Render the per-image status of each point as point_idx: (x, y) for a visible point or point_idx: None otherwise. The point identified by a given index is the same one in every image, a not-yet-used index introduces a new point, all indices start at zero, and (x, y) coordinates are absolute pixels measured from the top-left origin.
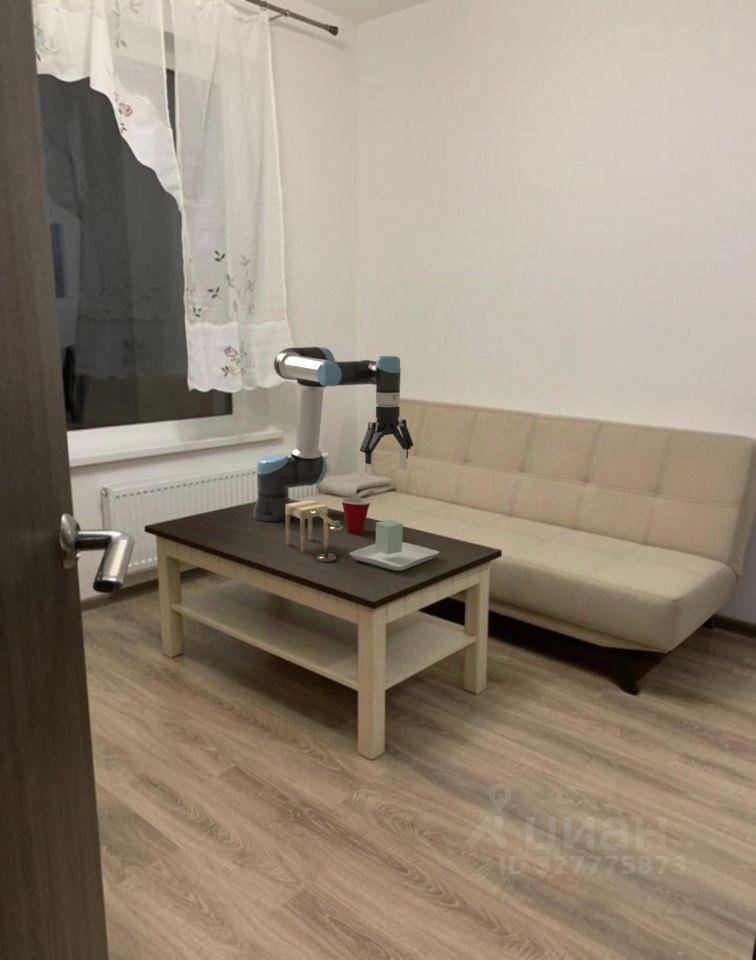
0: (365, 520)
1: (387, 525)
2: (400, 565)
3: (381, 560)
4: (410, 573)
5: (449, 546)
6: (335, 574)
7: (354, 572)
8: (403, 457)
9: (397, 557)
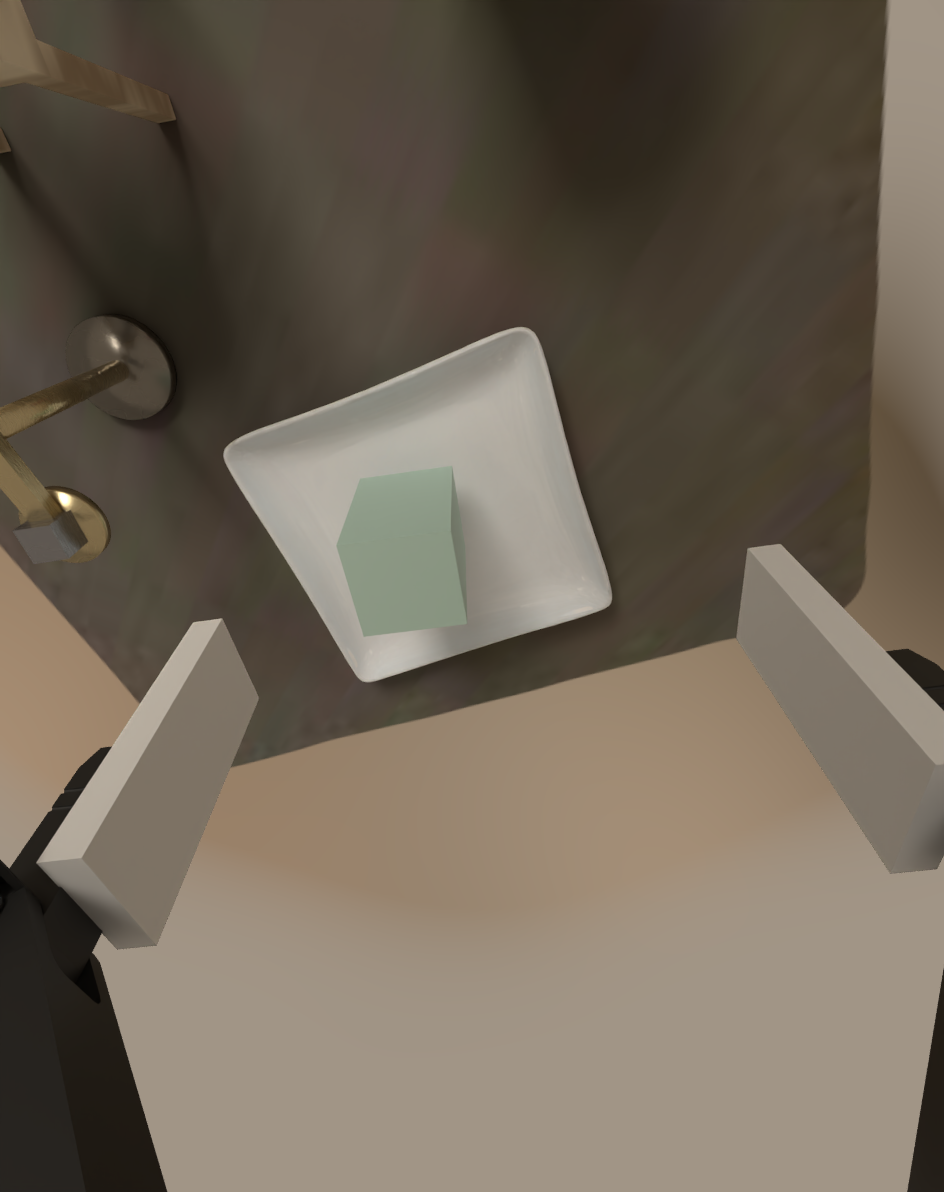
0: None
1: (374, 615)
2: None
3: None
4: None
5: (769, 476)
6: (132, 561)
7: (214, 573)
8: (817, 726)
9: None
